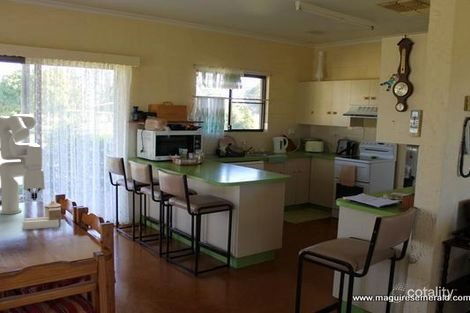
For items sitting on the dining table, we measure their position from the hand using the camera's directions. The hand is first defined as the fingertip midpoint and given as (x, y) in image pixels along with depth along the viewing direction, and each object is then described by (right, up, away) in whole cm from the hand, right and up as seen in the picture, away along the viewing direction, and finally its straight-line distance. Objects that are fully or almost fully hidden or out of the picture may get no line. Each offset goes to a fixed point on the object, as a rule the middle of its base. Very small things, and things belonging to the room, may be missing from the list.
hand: (34, 199), depth 234 cm
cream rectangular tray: (+3, -15, +2) cm, 15 cm away
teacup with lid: (+3, -14, +17) cm, 22 cm away
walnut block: (+9, -14, +5) cm, 17 cm away
